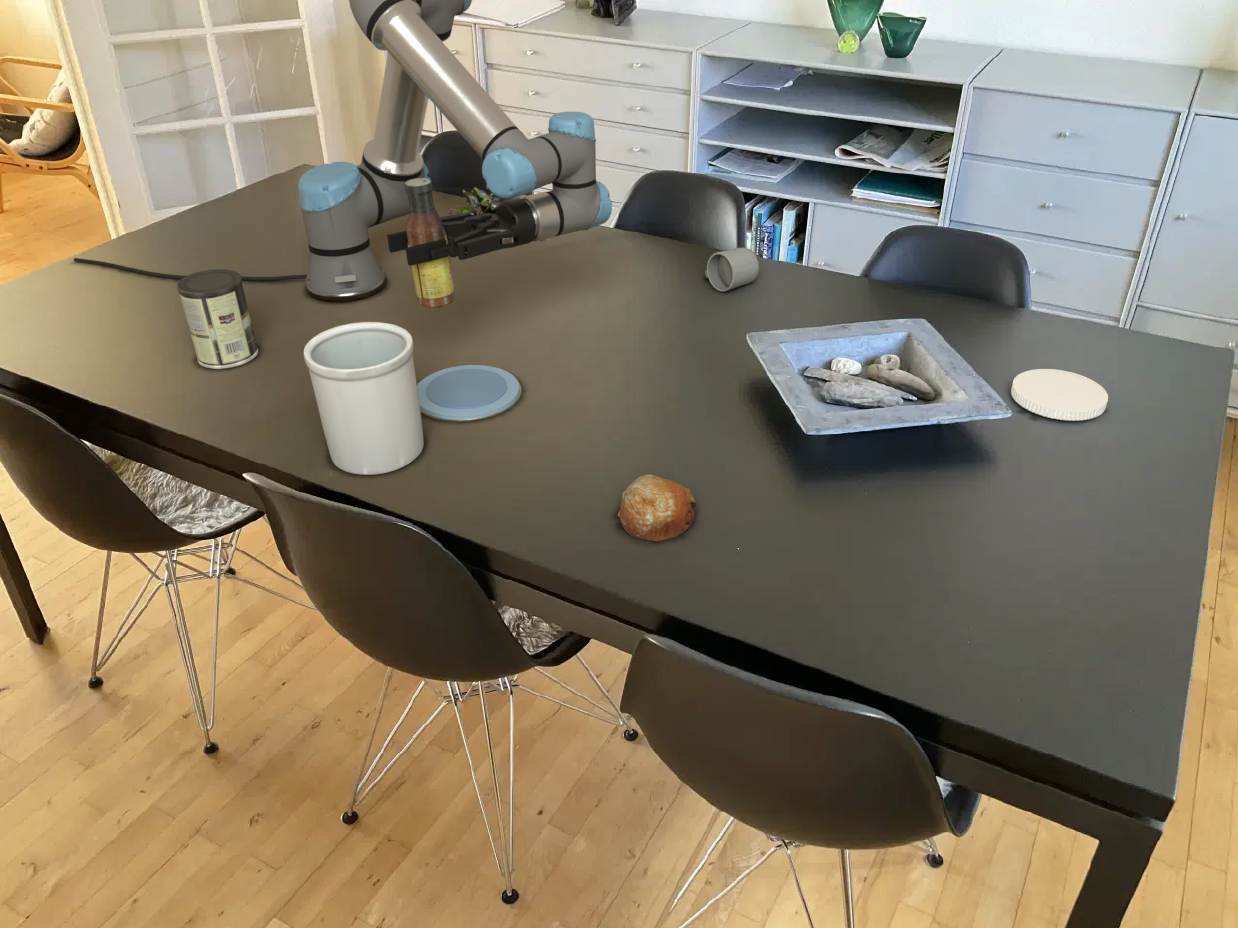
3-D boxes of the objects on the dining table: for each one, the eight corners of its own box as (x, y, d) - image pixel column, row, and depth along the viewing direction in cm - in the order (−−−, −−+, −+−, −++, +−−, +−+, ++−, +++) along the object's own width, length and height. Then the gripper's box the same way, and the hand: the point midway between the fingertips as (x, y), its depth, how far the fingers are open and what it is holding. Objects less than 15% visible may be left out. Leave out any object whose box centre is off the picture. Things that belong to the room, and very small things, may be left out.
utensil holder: (378, 489, 138) (359, 379, 128) (303, 459, 145) (280, 352, 135) (447, 441, 148) (434, 336, 139) (374, 416, 155) (357, 313, 145)
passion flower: (496, 245, 231) (523, 207, 224) (468, 252, 222) (495, 213, 216) (465, 211, 232) (490, 172, 226) (436, 217, 223) (461, 176, 217)
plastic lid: (1059, 435, 149) (1063, 420, 147) (990, 394, 159) (993, 381, 158) (1123, 412, 154) (1128, 398, 152) (1053, 375, 164) (1056, 361, 163)
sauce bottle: (463, 299, 163) (450, 179, 152) (438, 313, 158) (423, 191, 147) (432, 290, 166) (418, 172, 155) (407, 304, 161) (390, 183, 150)
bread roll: (629, 520, 137) (603, 478, 133) (696, 490, 136) (672, 447, 131) (636, 565, 129) (609, 522, 125) (707, 534, 127) (682, 489, 123)
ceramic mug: (761, 285, 196) (763, 248, 192) (732, 296, 192) (733, 259, 188) (723, 271, 203) (724, 235, 199) (694, 281, 199) (695, 244, 195)
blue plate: (390, 409, 157) (389, 402, 156) (449, 361, 170) (448, 355, 170) (487, 431, 151) (487, 424, 150) (540, 380, 164) (539, 373, 164)
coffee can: (226, 338, 179) (208, 265, 171) (271, 349, 175) (254, 274, 167) (183, 362, 171) (162, 286, 163) (229, 374, 167) (209, 296, 160)
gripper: (557, 258, 160) (428, 292, 149) (499, 226, 174) (376, 255, 163) (555, 213, 156) (422, 245, 145) (496, 183, 170) (370, 210, 159)
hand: (398, 250), depth 154 cm, fingers closed on sauce bottle, 6 cm apart
